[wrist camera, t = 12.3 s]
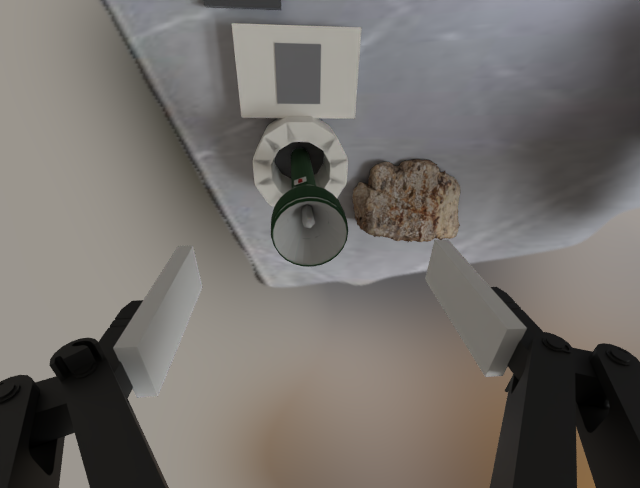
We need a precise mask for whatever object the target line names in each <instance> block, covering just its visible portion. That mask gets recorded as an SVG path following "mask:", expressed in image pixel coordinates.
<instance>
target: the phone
mask: <svg viewBox="0 0 640 488" xmlns="http://www.w3.org/2000/svg"><path fill="white" fill-rule="evenodd" d="M204 6H206V7H212V8H239V9H266V10H281V0H204Z"/></svg>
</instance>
